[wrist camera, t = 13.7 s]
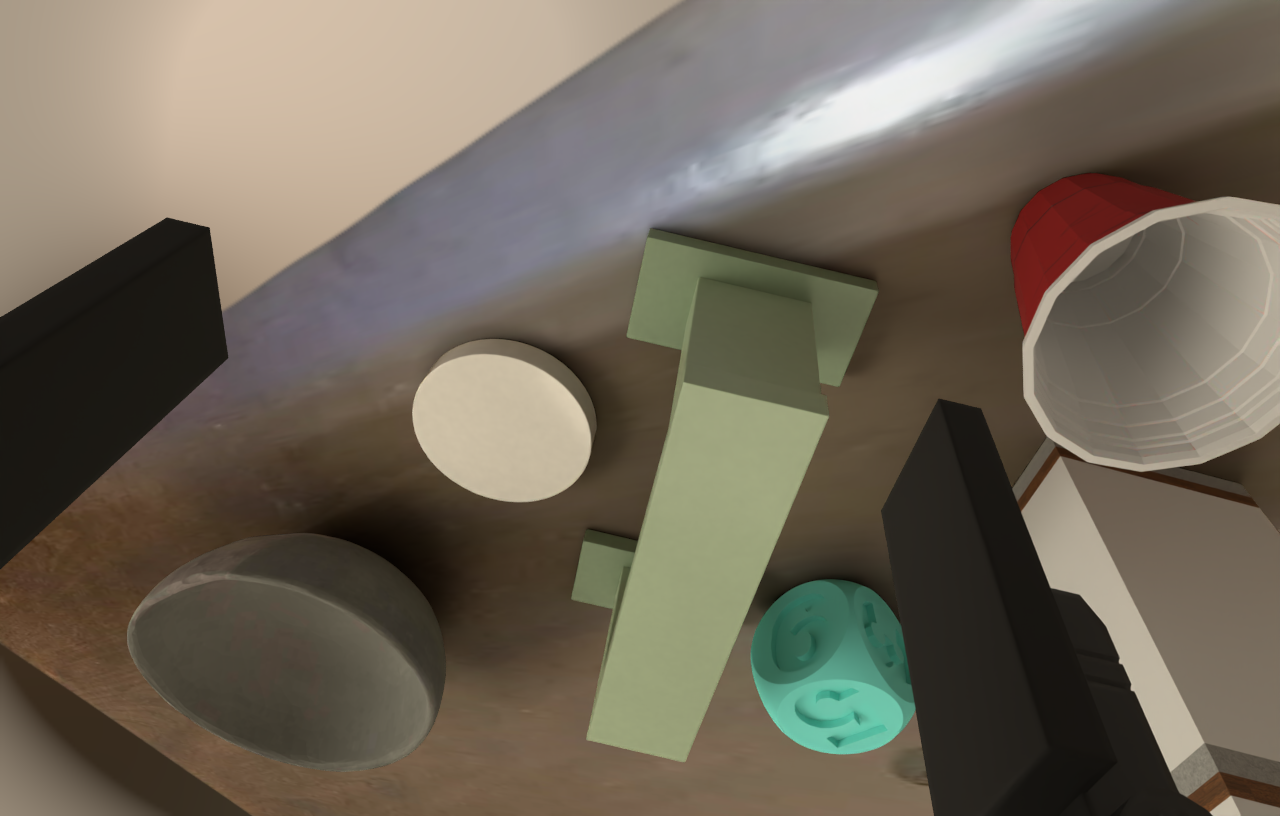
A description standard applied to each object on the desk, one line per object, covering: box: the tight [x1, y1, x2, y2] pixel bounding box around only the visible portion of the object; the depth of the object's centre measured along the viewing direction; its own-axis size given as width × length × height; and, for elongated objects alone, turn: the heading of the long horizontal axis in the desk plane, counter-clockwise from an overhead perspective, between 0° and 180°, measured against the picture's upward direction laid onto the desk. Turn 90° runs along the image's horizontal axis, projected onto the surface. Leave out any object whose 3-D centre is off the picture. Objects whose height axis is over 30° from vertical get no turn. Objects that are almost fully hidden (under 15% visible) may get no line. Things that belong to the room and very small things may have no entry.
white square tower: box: [1012, 437, 1280, 816], centre depth 33 cm, size 11×11×35 cm
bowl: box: [127, 533, 446, 772], centre depth 55 cm, size 20×20×10 cm
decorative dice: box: [751, 579, 916, 754], centre depth 52 cm, size 8×8×8 cm
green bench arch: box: [571, 228, 879, 762], centre depth 44 cm, size 28×12×12 cm, turn 169°
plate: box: [412, 339, 597, 502], centre depth 48 cm, size 11×11×2 cm
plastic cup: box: [1011, 173, 1280, 472], centre depth 33 cm, size 11×11×12 cm
